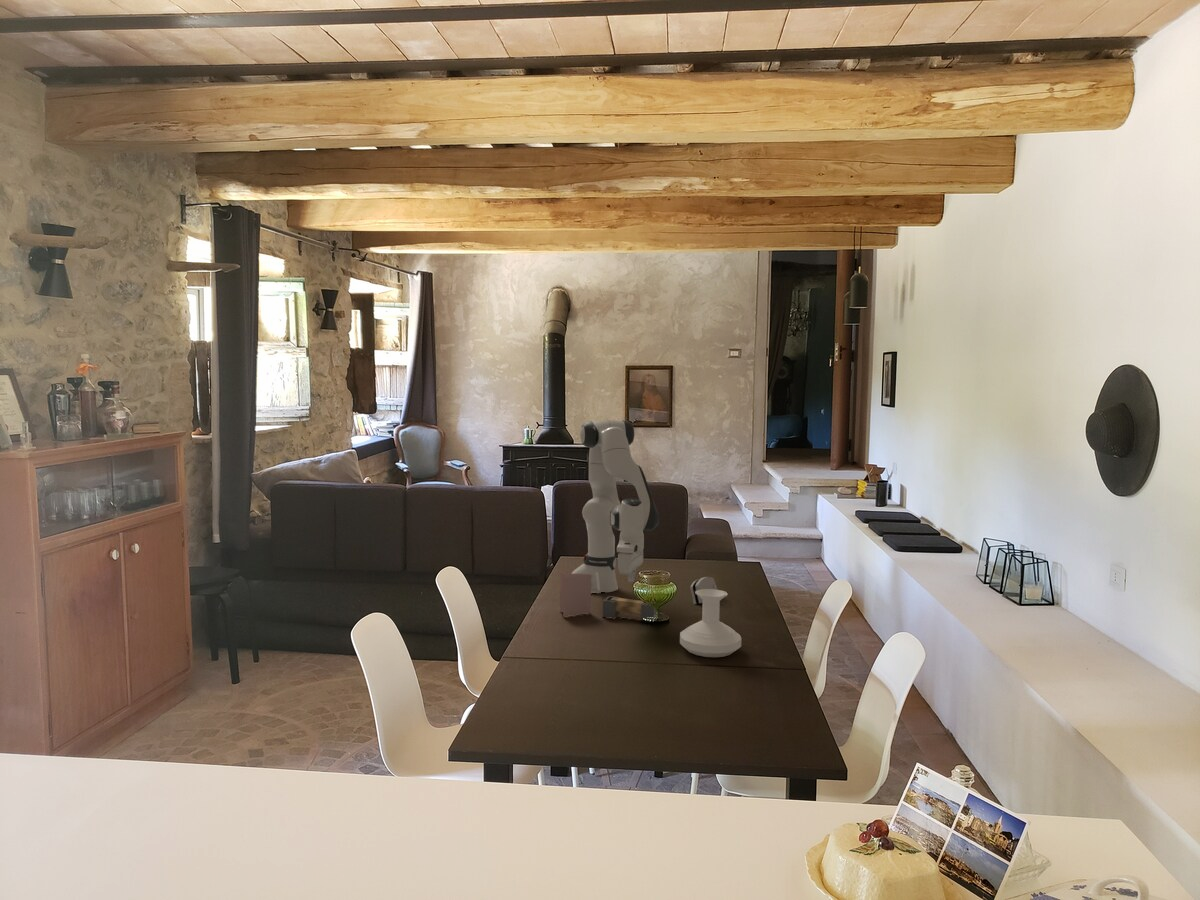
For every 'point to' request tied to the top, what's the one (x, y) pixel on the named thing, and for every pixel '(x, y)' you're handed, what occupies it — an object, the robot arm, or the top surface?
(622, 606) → the oak slat
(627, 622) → the top surface
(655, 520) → the robot arm
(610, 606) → the end cap frame
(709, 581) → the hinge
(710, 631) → the candle holder
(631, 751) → the top surface
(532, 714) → the top surface
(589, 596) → the greeting card
